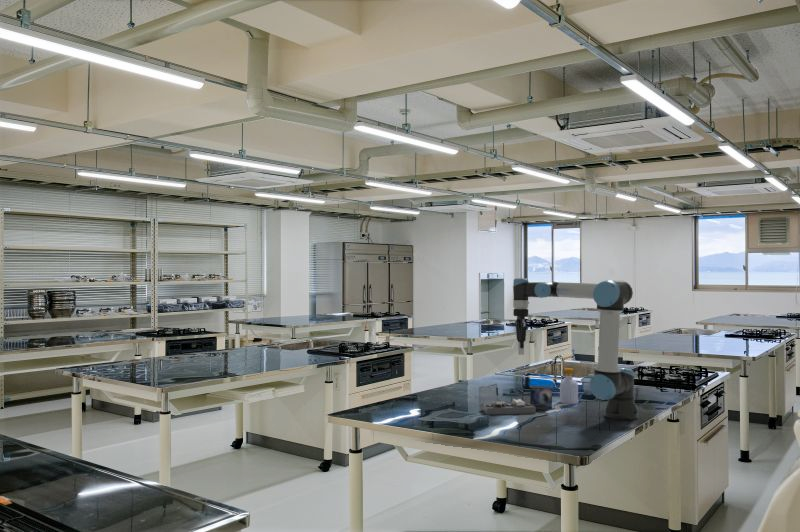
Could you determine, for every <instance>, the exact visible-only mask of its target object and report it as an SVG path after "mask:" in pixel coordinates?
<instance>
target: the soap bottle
mask: <svg viewBox="0 0 800 532" xmlns="http://www.w3.org/2000/svg"><path fill="white" fill-rule="evenodd" d="M572 357H573V356H572V355H568V356H565V357H563V358H562V368H563V370H564V371H565V372H566V373H565V378H564V379H563V380H561V381H560V383H559V402H560V403H561V404H565V405H577V404H578V403H579V384H578V382H577V381H576V380H574V379H573V374H572V373H571V372H572V371H574V368H572V367H570V368H569V367H568V368H566V367H565V360H568V359H570V358H572Z"/></svg>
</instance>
